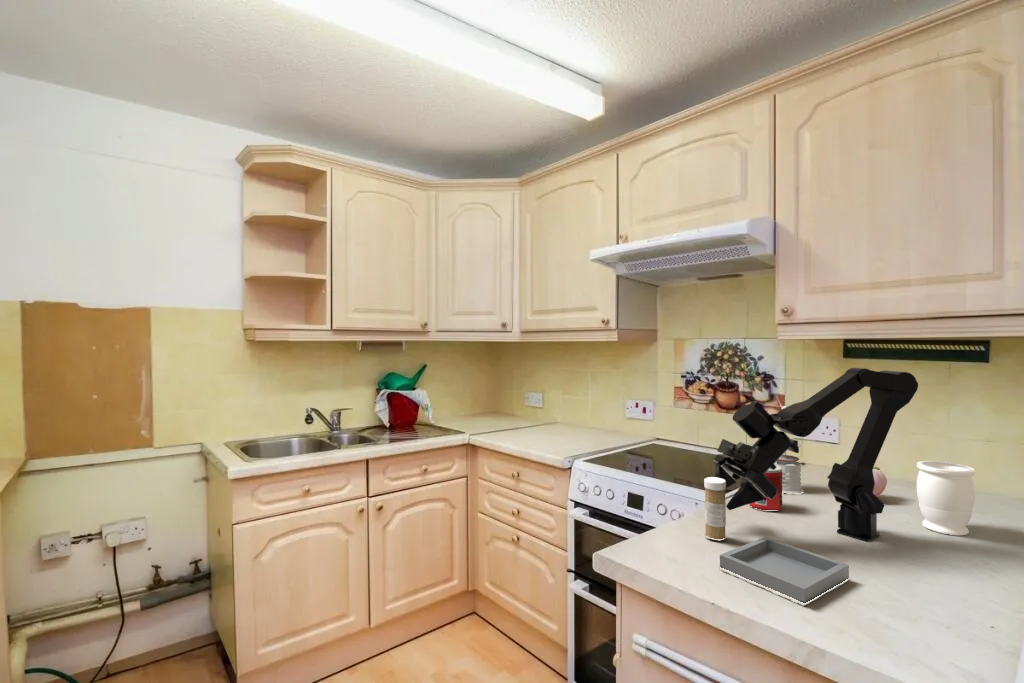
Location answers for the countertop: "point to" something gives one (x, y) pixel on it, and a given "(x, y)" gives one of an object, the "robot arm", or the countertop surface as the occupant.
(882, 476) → the decorative fruit
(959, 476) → the jar
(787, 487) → the french press
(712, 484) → the sprinkles bottle
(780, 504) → the canned food
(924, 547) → the countertop surface
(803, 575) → the box
